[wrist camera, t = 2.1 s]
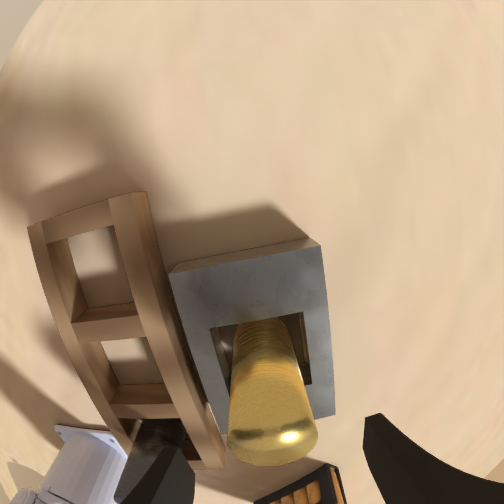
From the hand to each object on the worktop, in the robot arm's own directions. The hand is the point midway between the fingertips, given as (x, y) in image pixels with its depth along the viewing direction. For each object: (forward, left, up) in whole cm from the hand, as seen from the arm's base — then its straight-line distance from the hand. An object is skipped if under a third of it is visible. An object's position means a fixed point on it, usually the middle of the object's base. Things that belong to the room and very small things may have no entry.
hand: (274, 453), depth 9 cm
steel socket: (0, 0, -10) cm, 10 cm away
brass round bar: (0, 0, -10) cm, 10 cm away
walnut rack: (0, +9, -10) cm, 13 cm away
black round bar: (-7, +9, -10) cm, 15 cm away
